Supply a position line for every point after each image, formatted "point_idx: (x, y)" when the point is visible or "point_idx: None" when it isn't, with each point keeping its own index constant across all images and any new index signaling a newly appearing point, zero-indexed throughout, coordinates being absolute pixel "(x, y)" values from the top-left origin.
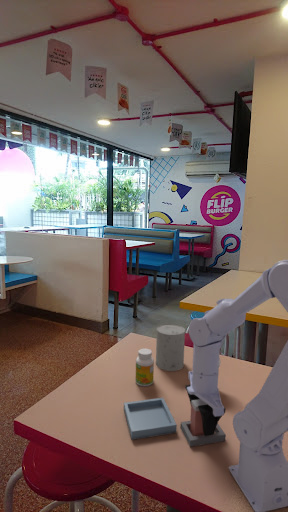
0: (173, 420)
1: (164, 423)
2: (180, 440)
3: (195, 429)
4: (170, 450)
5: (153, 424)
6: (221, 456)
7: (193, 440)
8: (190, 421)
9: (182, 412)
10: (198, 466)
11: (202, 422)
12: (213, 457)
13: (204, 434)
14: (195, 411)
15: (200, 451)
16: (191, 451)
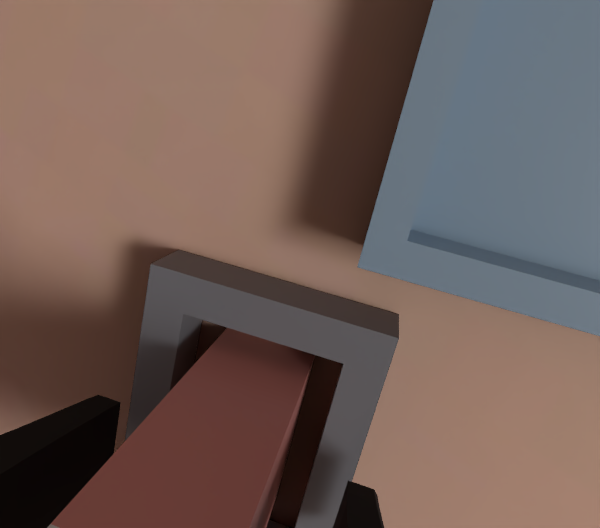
0: (437, 277)
1: (513, 197)
2: (269, 223)
3: (188, 376)
4: (207, 75)
5: (573, 68)
6: (39, 382)
7: (148, 292)
8: (358, 424)
9: (571, 462)
10: (11, 191)
11: (13, 460)
12: (46, 332)
13: (101, 399)
14: (56, 521)
15: (116, 291)
16: (138, 232)
